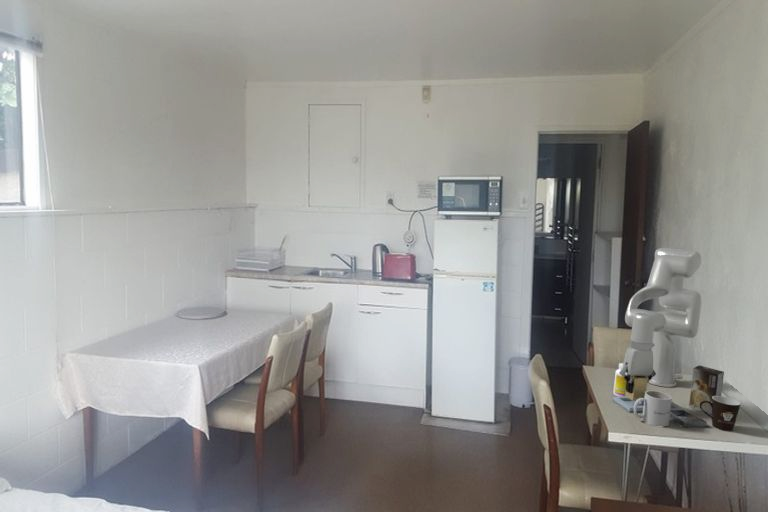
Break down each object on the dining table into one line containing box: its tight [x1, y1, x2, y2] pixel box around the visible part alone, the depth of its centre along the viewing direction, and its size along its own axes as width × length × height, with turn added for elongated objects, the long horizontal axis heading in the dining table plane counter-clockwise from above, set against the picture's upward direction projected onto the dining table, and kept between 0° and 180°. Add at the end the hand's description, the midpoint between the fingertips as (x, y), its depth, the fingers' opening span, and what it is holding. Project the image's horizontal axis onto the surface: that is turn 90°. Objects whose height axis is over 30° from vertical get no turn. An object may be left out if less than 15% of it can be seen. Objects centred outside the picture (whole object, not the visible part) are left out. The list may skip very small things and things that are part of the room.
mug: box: [633, 390, 673, 428], centre depth 196 cm, size 12×9×10 cm
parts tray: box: [612, 396, 644, 413], centre depth 209 cm, size 11×11×2 cm
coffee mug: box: [700, 395, 741, 432], centre depth 195 cm, size 12×9×10 cm
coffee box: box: [688, 365, 725, 416], centre depth 209 cm, size 9×6×16 cm
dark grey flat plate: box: [669, 401, 708, 428], centre depth 203 cm, size 9×22×2 cm, turn 9°
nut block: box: [625, 376, 648, 401], centre depth 209 cm, size 5×5×9 cm
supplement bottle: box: [612, 362, 627, 397], centre depth 220 cm, size 7×7×13 cm
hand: (635, 391), depth 209 cm, fingers closed on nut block, 5 cm apart
